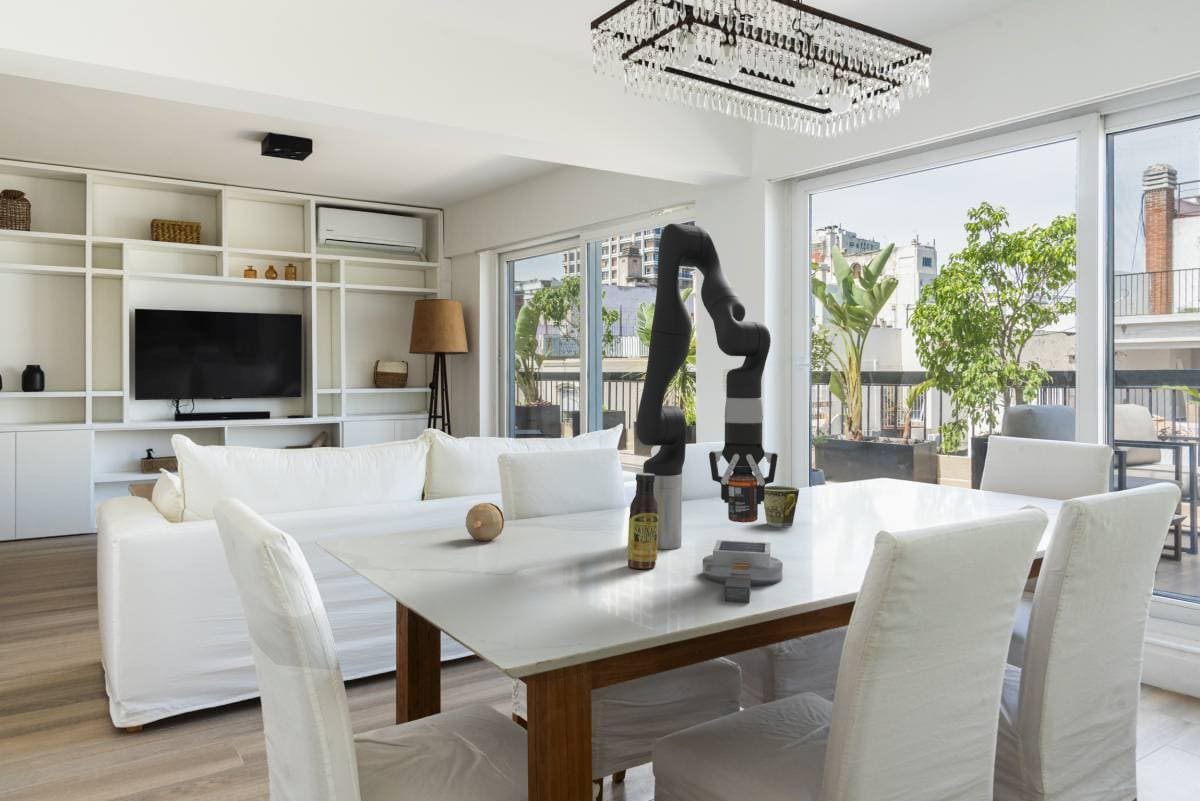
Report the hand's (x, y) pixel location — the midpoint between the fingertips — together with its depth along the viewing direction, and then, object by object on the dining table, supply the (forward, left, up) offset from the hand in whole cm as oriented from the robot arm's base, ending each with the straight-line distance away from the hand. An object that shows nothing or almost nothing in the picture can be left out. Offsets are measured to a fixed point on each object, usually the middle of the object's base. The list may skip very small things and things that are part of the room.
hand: (742, 502), depth 169 cm
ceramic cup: (+8, +58, -15) cm, 60 cm away
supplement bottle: (0, 0, -4) cm, 4 cm away
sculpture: (-63, +20, -15) cm, 68 cm away
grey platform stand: (0, -6, -15) cm, 16 cm away
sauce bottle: (-21, +3, -15) cm, 26 cm away
